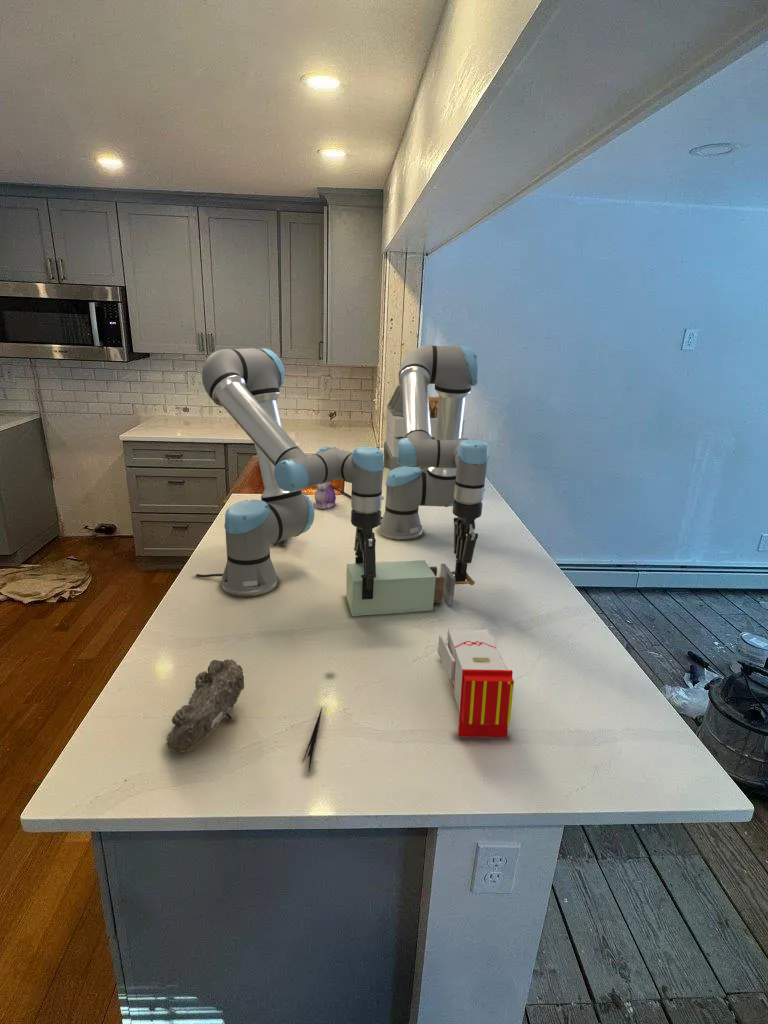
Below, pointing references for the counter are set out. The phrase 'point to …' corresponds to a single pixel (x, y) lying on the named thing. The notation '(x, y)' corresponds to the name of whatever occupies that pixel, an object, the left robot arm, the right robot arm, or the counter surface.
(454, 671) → the toy
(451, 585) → the drawer
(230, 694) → the fossil
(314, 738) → the feather
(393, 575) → the cabinet
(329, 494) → the figurine
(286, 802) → the counter surface
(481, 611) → the counter surface
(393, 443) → the transformer
